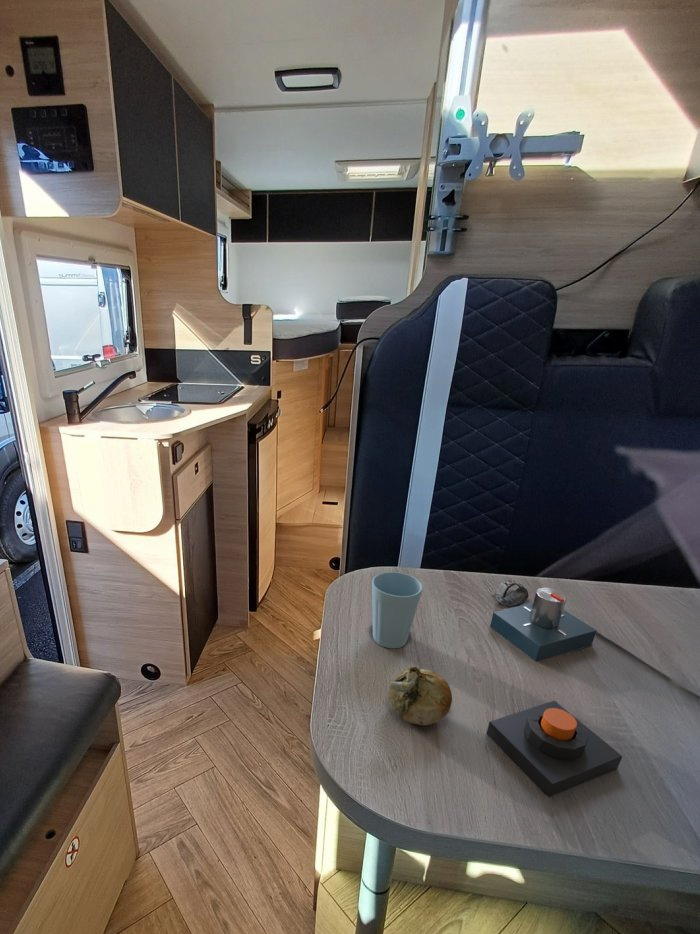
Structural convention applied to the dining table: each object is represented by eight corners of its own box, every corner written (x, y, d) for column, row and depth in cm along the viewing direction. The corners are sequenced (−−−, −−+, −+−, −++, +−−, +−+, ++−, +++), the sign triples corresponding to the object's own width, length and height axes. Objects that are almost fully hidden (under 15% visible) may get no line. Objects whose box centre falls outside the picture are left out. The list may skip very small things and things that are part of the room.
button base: (550, 712, 70) (557, 689, 69) (617, 769, 62) (627, 745, 60) (485, 734, 67) (492, 710, 65) (547, 797, 58) (556, 772, 57)
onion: (439, 745, 65) (450, 696, 61) (378, 722, 68) (385, 674, 65) (452, 707, 71) (462, 661, 67) (395, 688, 74) (402, 642, 71)
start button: (555, 715, 65) (559, 704, 64) (580, 736, 62) (584, 725, 61) (533, 722, 64) (537, 712, 63) (557, 744, 61) (561, 733, 60)
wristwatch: (512, 613, 94) (532, 594, 94) (495, 597, 93) (516, 577, 92) (503, 606, 97) (523, 587, 96) (486, 590, 96) (506, 571, 95)
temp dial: (523, 616, 86) (530, 588, 84) (543, 611, 87) (551, 584, 85) (544, 630, 82) (552, 602, 80) (565, 625, 84) (573, 597, 81)
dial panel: (543, 613, 92) (547, 598, 91) (591, 645, 84) (597, 629, 83) (489, 626, 88) (493, 611, 87) (535, 661, 80) (540, 645, 79)
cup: (362, 624, 88) (368, 571, 84) (407, 625, 88) (416, 571, 84) (369, 652, 81) (376, 596, 77) (418, 653, 82) (428, 597, 77)
